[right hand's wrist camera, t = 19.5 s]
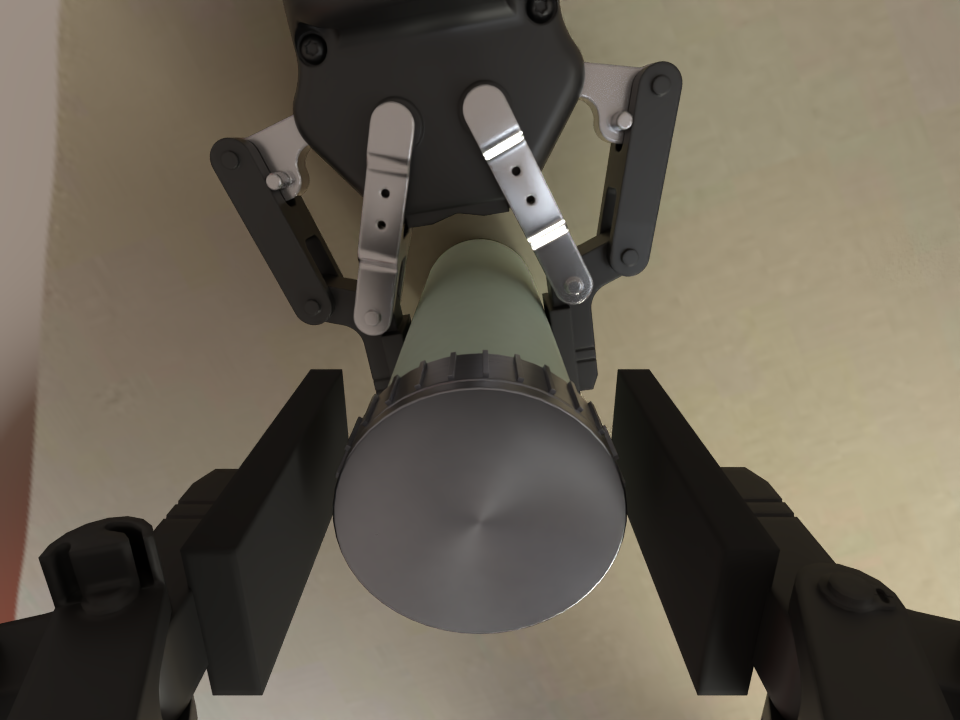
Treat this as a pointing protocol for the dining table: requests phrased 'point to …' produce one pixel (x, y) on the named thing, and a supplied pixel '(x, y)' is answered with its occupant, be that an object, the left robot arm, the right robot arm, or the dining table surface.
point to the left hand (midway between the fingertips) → (492, 408)
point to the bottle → (480, 310)
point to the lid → (479, 495)
